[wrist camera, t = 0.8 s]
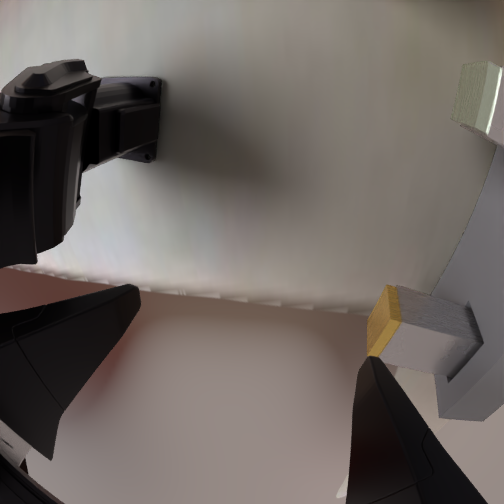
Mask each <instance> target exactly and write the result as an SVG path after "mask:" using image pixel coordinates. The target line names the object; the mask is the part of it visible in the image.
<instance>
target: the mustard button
mask: <svg viewBox="0 0 504 504" xmlns="http://www.w3.org/2000/svg"><path fill="white" fill-rule="evenodd" d="M483 344H484V341H483V338H482V335H481V332H480V329H479V326H478V324H477V321H476V318H475V316H474V313H473V310H472V308H469V307H465V306H462V305H459V304H456V303H453V302H450V301H447V300H444V299H440V298H437V297H434V296H431V295H428V294H425V293H421V292H418V291H415V290H412V289H409V288H405V287H402V286H399V285H396V287H394V286H390V285H386V287H385V288H384V290H383V292H382V294H381V296H380V298H379V300H378V302H377V304H376V306H375V307H374V309H373V311H372V313H371V315H370V316H369V318H368V320H367V356H370V355H371V356H376V357H379V358H380V359H381V360H382V361H383V363H387V364H391V365H396V366H400V367H404V368H409V369H413V370H418V371H423V372H428V373H433V374H438V375H443V376H448V377H453V378H454V377H455V376H456V375H457V374H458V373H459V372H460V370H461V369H462V368H463V367H464V366H465V365H466V364H467V363H468V362H469V360H470V359H471V358H472V357H473V356H474V355H475V353H476V352H477V351H478V350H479V349H480V348H481V346H482V345H483Z"/></svg>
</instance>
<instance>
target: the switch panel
mask: <svg viewBox="0 0 504 504" xmlns="http://www.w3.org/2000/svg"><path fill="white" fill-rule="evenodd" d="M431 296H434V297H437V298H440V299H444V300H447V301H450V302H453V303H456V304H459V305H462V306H465V307H469V308H472V310H473V313H474V316H475V318H476V321H477V324H478V326H479V329H480V332H481V335H482V338H483V341H484V344H483V345H482V346H481V348H480V349H479V350H478V351H477V352H476V353H475V355H474V356H473V357H472V358H471V359H470V360H469V362H468V363H467V364H466V365H465V366H464V367H463V368H462V369H461V370H460V372H459V373H458V374H457V375H456V376H455V377H454V378H453V377H448V376H443V375H438V374H434V376H435V384H436V392H437V402H438V413H439V418H445V419H456V420H469V421H484V420H485V419H486V418H488V417H489V416H490V415H491V414H492V413H494V412H495V411H496V410H497V409H498V408H499V407H501V406H502V405H503V404H504V150H503V149H502V148H500V147H498V146H497V148H496V151H495V154H494V158H493V161H492V164H491V167H490V170H489V172H488V175H487V178H486V181H485V183H484V186H483V189H482V191H481V194H480V196H479V199H478V201H477V204H476V206H475V209H474V211H473V213H472V216H471V218H470V220H469V222H468V225H467V227H466V229H465V231H464V233H463V235H462V238H461V240H460V242H459V244H458V246H457V248H456V250H455V252H454V254H453V256H452V258H451V260H450V261H449V263H448V265H447V267H446V269H445V271H444V273H443V274H442V276H441V278H440V280H439V282H438V283H437V285H436V287H435V289H434V290H433V292H432V294H431Z"/></svg>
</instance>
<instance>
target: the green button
mask: <svg viewBox="0 0 504 504" xmlns="http://www.w3.org/2000/svg"><path fill="white" fill-rule="evenodd" d="M451 119H452V120H454V121H456V122H458V123H460V124H461V125H460V126H461V127H463V128H465V129H467V130H469V131H471V132H473V133H475V134H477V135H479V136H481V137H482V138H484V139H486V140H488V141H490V142H491V143H493V144H495V145H497V146H498V147H500V148H502V149H503V150H504V66H497V65H495V64H494V63H492V62H490V61H483V62H476V63H470V64H464V65H463V67H462V72H461V77H460V82H459V87H458V91H457V96H456V100H455V104H454V108H453V112H452V116H451Z"/></svg>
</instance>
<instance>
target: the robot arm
mask: <svg viewBox="0 0 504 504" xmlns="http://www.w3.org/2000/svg"><path fill="white" fill-rule="evenodd" d="M154 81H155V83H156V85H155V86H153V82H154ZM161 85H162V83H161V80H160V79H159V78H157V77H110V78H100V77H96V76H93V75H91V74H89V73H88V70H87V68H86V65H85V62H84V60H80V59H71V60H61V61H56V62H52V63H46V64H43V65H41V66H33V67H28V68H26V69H25V70H24V71H22V72H21V73H20V74H19V75H18V76H16V77H15V78H14V79H13V80H12V81H10V82H9V83H8V84H7V85H6V86H5V87H4V88H3V89H2V91H1V93H0V268H3V267H6V266H10V265H16V264H36V263H37V262H38V260H37V254H38V253H41V252H44V251H46V250H49V249H51V248H54V247H55V246H57V245H58V244H60V243H61V242H63V240H64V235H66V233H67V232H68V231H69V229H70V228H71V227H72V225H73V222H74V218H75V214H76V209H77V208H78V206H79V205H80V201H81V196H80V187H81V178H82V173H84V172H86V171H88V170H90V169H92V168H95V167H97V166H99V165H101V164H104V163H106V162H108V161H111V160H113V159H115V158H123V159H128V160H134V161H139V162H144V163H151V162H153V161H154V160H155V158H156V145H157V139H158V129H159V116H160V106H159V105H160V94H161ZM148 154H149V155H150V158H149V157H148ZM140 306H141V299H140V292H139V288H138V287H137V286H134V285H132V284H126V285H122V286H118V287H114V288H110V289H106V290H102V291H98V292H94V293H90V294H86V295H83V296H78V297H75V298H71V299H67V300H63V301H59V302H55V303H51V304H47V305H42V306H38V307H33V308H29V309H25V310H20V311H14V312H9V313H2V314H0V504H64V503H63V502H61V501H60V500H59V499H58V498H56V497H55V496H53V495H52V494H51V493H50V492H48V491H47V490H46V489H44V488H43V487H42V486H41V485H39V484H38V483H37V482H36V481H35V480H33V479H32V478H31V477H30V476H29V475H28V469H27V465H26V459H25V456H26V454H27V453H28V452H29V450H30V449H31V447H33V448H34V449H36V450H37V451H38V452H40V453H41V454H42V455H43V456H45V457H46V458H48V459H49V460H50V461H51V460H52V458H53V453H54V446H55V440H56V435H57V429H58V424H59V420H60V418H61V416H62V414H63V413H64V411H65V410H66V408H67V407H68V406H69V404H70V403H71V402H72V400H73V399H74V398H75V396H76V395H77V394H78V392H79V391H80V390H81V388H82V387H83V386H84V385H85V383H86V382H87V381H88V379H89V378H90V377H91V375H92V374H93V373H94V372H95V370H96V369H97V368H98V366H99V365H100V364H101V363H102V361H103V360H104V359H105V358H106V356H107V355H108V354H109V352H110V351H111V350H112V349H113V347H114V346H115V345H116V344H117V342H118V341H119V340H120V339H121V337H122V336H123V334H124V333H125V332H126V330H127V328H128V327H129V325H130V323H131V322H132V320H133V319H134V317H135V316H136V314H137V312H138V311H139V309H140ZM346 504H488V503H487V502H486V501H485V499H484V498H483V497H482V496H481V494H480V493H479V492H478V490H477V489H476V488H475V487H474V485H473V484H472V483H471V482H470V480H469V479H468V478H467V477H466V475H465V474H464V473H463V472H462V471H461V469H460V468H459V467H458V465H457V464H456V463H455V462H454V460H453V459H452V458H451V457H450V455H449V454H448V453H447V452H446V450H445V449H444V448H443V446H442V445H441V444H440V442H439V441H438V439H437V438H436V437H435V435H434V434H433V432H432V431H431V429H430V428H428V425H427V424H426V422H425V421H424V419H423V418H422V416H421V415H420V414H419V412H418V411H417V409H416V408H415V406H414V405H413V403H412V402H411V401H410V399H409V398H408V396H407V395H406V393H405V392H404V391H403V389H402V388H401V386H400V385H399V384H398V382H397V381H396V379H395V378H394V377H393V375H392V374H391V372H390V371H389V370H388V368H387V367H386V365H385V364H384V363H383V361H382V360H381V359H380V358H379V357H376V356H371V355H370V356H368V357H367V359H366V360H365V362H364V364H363V365H362V366H361V368H360V369H359V372H358V376H357V383H356V391H355V398H354V403H353V414H352V436H351V453H350V467H349V478H348V488H347V497H346Z"/></svg>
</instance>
